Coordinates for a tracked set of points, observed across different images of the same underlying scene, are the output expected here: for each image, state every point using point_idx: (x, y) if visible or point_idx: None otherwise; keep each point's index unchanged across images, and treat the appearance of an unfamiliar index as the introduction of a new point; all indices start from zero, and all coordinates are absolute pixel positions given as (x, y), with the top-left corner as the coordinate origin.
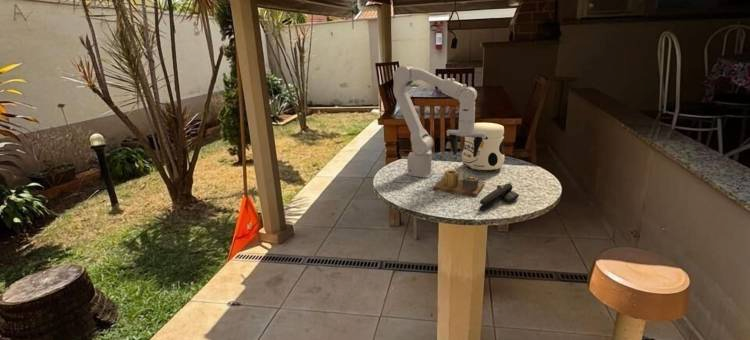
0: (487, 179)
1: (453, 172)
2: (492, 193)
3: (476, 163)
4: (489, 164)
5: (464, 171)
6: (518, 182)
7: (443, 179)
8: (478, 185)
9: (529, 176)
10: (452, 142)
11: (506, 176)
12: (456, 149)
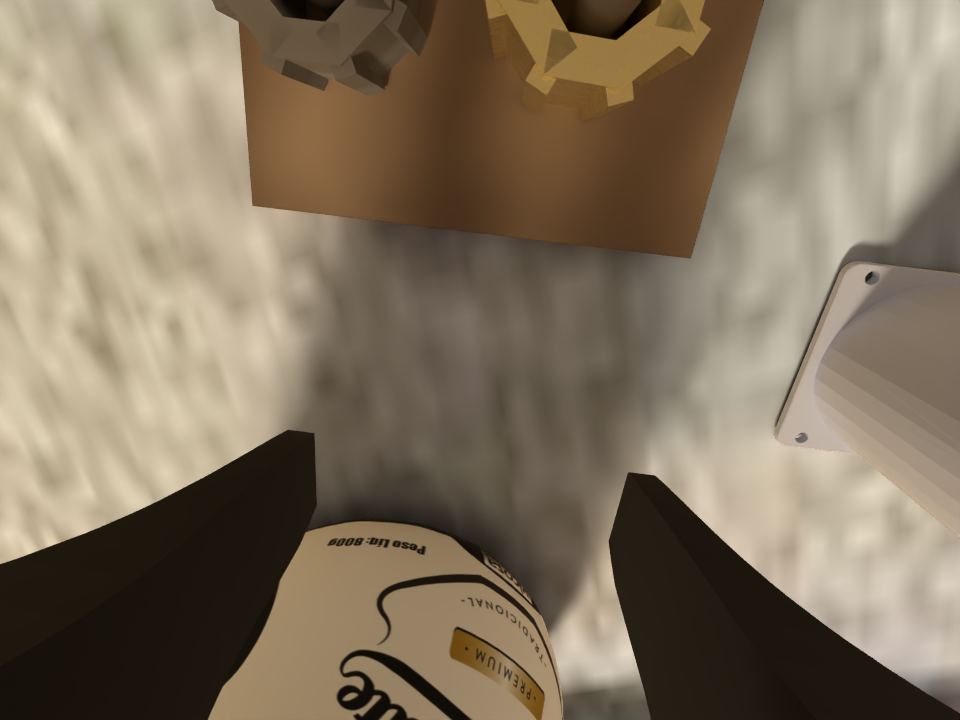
0: (294, 390)
1: (579, 39)
2: None
3: (394, 560)
4: None
5: (512, 519)
6: (57, 388)
7: (682, 196)
8: (286, 118)
9: (45, 524)
10: (842, 678)
11: None
12: (635, 583)
